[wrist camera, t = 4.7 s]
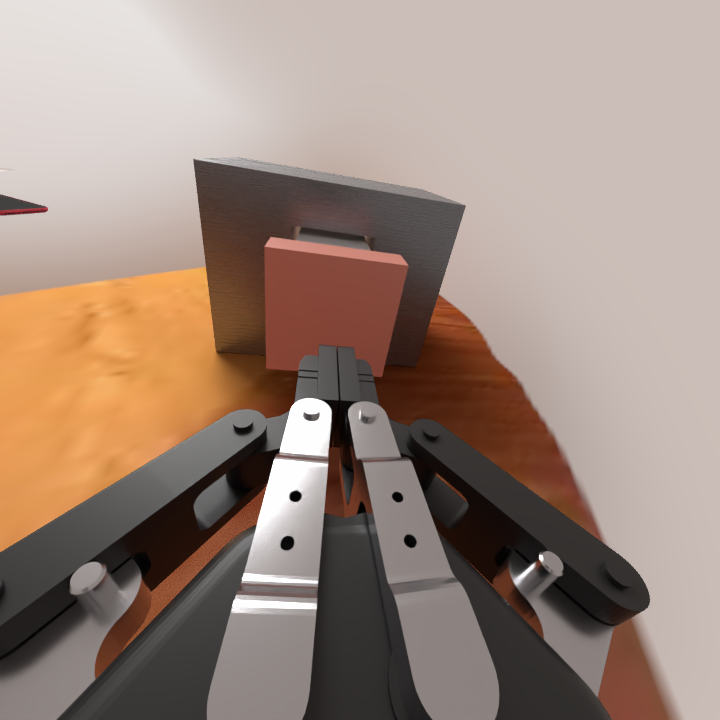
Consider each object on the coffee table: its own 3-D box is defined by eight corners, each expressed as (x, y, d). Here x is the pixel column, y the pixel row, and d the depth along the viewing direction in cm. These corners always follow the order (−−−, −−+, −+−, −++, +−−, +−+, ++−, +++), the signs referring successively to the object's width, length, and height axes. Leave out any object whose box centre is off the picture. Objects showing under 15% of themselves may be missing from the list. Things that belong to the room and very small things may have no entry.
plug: (266, 368, 18) (264, 246, 14) (289, 284, 30) (292, 204, 26) (381, 376, 19) (408, 265, 15) (360, 292, 31) (372, 217, 27)
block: (216, 351, 26) (193, 159, 19) (246, 297, 36) (239, 157, 29) (415, 367, 29) (465, 205, 22) (393, 313, 39) (422, 189, 32)
